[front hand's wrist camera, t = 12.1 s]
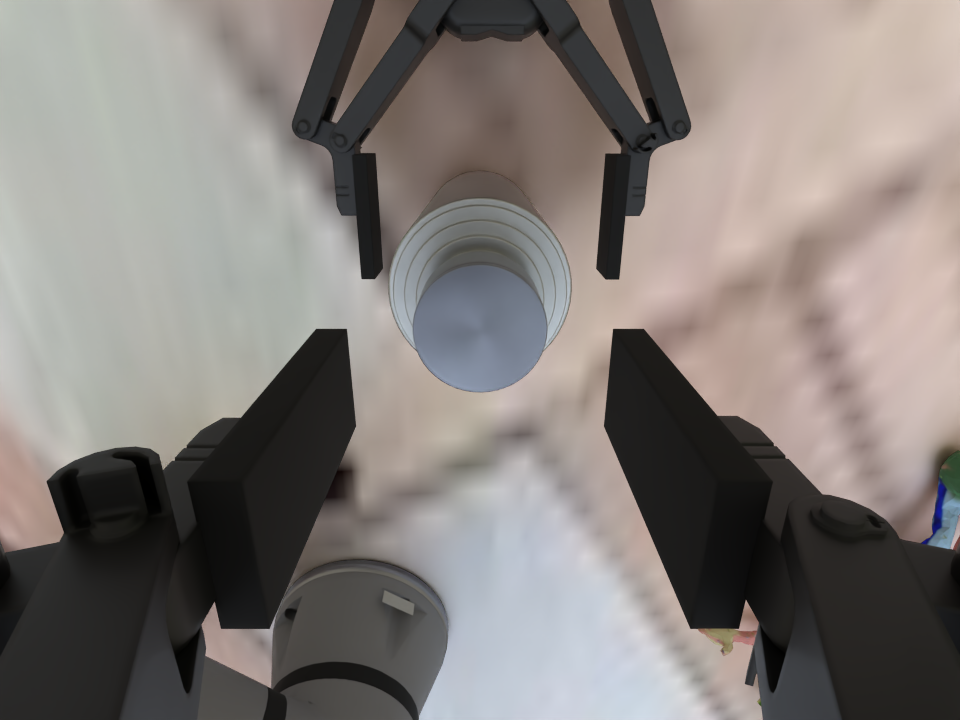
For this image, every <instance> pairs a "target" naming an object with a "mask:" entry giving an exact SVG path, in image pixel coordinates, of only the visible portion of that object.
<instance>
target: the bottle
mask: <svg viewBox="0 0 960 720" xmlns="http://www.w3.org/2000/svg"><path fill="white" fill-rule="evenodd" d="M478 251H480V252H491V253H496V254H499V255H502V256H505V257H507V258H509V259H511V260H512V261H514V262H516V263H517V264H518V265H520V266H521V267H522V268H523V269H524V270H525V271H526V272H527V273H528V274H529V276H530V277H531V279H532V280H533V282H534V284H535V286H536V288H537V290H538V293H539V296H540V298H541V301H542V304H543V306H544V310H545V313H546V318H547V328H548V331H547V339H546V344H545V347H544V350H545V349H546V348H547V347H548V346H549V345H550V344H551V343H552V341H553V340H554V339H555V337H556V336H557V334H558V333H559V331H560V329H561V327H562V326H563V324H564V321H565V319H566V316H567V314H568V310H569V306H570V301H571V292H572V282H571V273H570V267H569V263H568V260H567V257H566V254H565V252H564V250H563V248H562V246H561V244H560V242H559V241H558V239H557V237H556V236H555V234H554V233H553V232H552V230H551V229H550V228H549V226H548V225H547V224H546V222H545V221H544V220H543V218H542V217H541V216H540V214H539V213H538V212H537V210H536V209H535V208H534V207H533V205H532V204H531V203H530V201H529V200H528V199H527V197H526V196H525V195H524V193H523V192H522V191H521V190H520V189H519V187H518V186H516V185H515V184H514V183H513V182H512V181H510V180H509V179H507V178H505V177H503V176H501V175H499V174H496V173H492V172H487V171H473V172H468V173H464V174H461V175H459V176H457V177H455V178H453V179H451V180H450V181H448V182H447V183H446V184H445V185H444V186H443V187H441V188H440V190H439V191H438V192H437V193H436V195H435V196H434V197H433V199H432V200H431V201H430V203H429V204H428V205H427V207H426V208H425V209H424V211H423V212H422V213H421V215H420V216H419V217H418V219H417V220H416V221H415V223H414V224H413V225H412V227H411V228H410V229H409V231H408V232H407V233H406V235H405V236H404V237H403V239H402V241H401V242H400V244H399V246H398V247H397V250H396V252H395V255H394V257H393V260H392V264H391V268H390V273H389V281H388V291H389V300H390V306H391V310H392V313H393V316H394V319H395V321H396V323H397V326H398V328H399V329H400V331H401V333H402V334H403V336H404V337H405V339H406V340H407V341H408V342H409V344H410V345H411V346H412V347H413V348H414V349H415V350H416V347H415V343H414V339H413V317H414V313H415V310H416V306H417V304H418V301H419V298H420V296H421V293H422V290H423V288H424V286H425V284H426V282H427V280H428V279H429V277H430V276H431V275H432V273H433V272H434V271H435V270H436V269H437V268H438V267H439V266H440V265H442V264H443V263H444V262H446V261H447V260H449V259H451V258H453V257H455V256H458V255H461V254H464V253H469V252H478ZM544 350H543V351H544ZM416 351H417V350H416Z"/></svg>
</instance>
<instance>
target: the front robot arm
mask: <svg viewBox="0 0 960 720" xmlns="http://www.w3.org/2000/svg"><path fill="white" fill-rule="evenodd" d="M355 427H356V421H355V411H354V400H353V390H352V379H351V368H350V358H349V347H348V336H347V329H316V330H315V331H314V332H313V333H312V335H311V336H310V337H309V338H308V339H307V340H306V342H305V343H304V344H303V345H302V346H301V348H300V349H299V350H298V351H297V352H296V353H295V355H294V356H293V357H292V358H291V359H290V361H289V362H288V363H287V364H286V365H285V366H284V368H283V369H282V370H281V371H280V372H279V374H278V375H277V376H276V377H275V378H274V379H273V381H272V382H271V383H270V384H269V385H268V387H267V388H266V389H265V390H264V391H263V392H262V394H261V395H260V396H259V397H258V398H257V400H256V401H255V402H254V403H253V404H252V405H251V407H250V408H249V409H248V410H247V411H246V412H245V414H244V415H243V416H242V417H241V418H222V419H220V420H219V421H217V422H215V423H213V424H211V425H210V426H208V427H206V428H204V429H203V430H201V431H200V432H199V433H198V434H197V435H196V436H195V437H194V438H193V439H192V440H191V441H190V442H189V444H188V445H187V448H184V449H183V450H182V451H181V452H180V453H179V454H178V455H177V456H176V457H175V461H171V463H170V464H169V465H168V466H167V467H166V468H165V469H164V470H163V469H162V465H161V461H160V457H159V454H157V453H156V452H154V451H153V450H151V449H147V448H141V447H124V448H114V449H110V450H105V451H101V452H97V453H93V454H91V455H88V456H86V457H83V458H80V459H78V460H75V461H73V462H71V463H70V464H68V465H66V466H65V467H63V468H61V469H59V470H58V471H57V472H56V473H55V474H54V475H53V476H52V477H51V478H50V479H49V480H48V481H47V484H48V487H49V490H50V493H51V496H52V499H53V502H54V505H55V508H56V510H57V513H58V516H59V519H60V522H61V525H62V528H63V531H64V534H63V536H62V538H61V540H60V542H57V543H52V544H47V545H42V546H37V547H32V548H27V549H22V550H17V551H12V552H6V553H5V552H4V549H3V547H2V544H1V542H0V720H419V715H420V713H421V711H422V708H423V706H424V704H425V702H426V699H427V697H428V695H429V693H430V691H431V688H432V686H433V684H434V682H435V680H436V677H437V675H438V673H439V671H440V669H441V666H442V664H443V660H444V657H445V653H446V649H447V640H448V620H447V616H446V612H445V609H444V607H443V605H442V603H441V601H440V599H439V598H438V597H437V595H436V594H435V593H434V592H433V590H432V589H431V588H430V587H429V586H428V585H427V584H425V583H424V582H423V581H422V580H420V579H419V578H417V577H416V576H414V575H413V574H411V573H409V572H407V571H405V570H403V569H401V568H398V567H396V566H393V565H390V564H386V563H382V562H377V561H370V560H345V561H338V562H333V563H329V564H326V565H323V566H320V567H318V568H316V569H313V570H312V571H310V572H308V573H306V574H305V575H303V576H302V577H301V578H299V579H298V580H297V581H296V582H295V583H294V584H293V585H292V586H291V588H290V589H289V590H288V592H287V593H286V595H285V597H284V599H283V601H282V598H283V596H284V594H285V591H286V589H287V587H288V584H289V582H290V579H291V577H292V575H293V572H294V570H295V568H296V565H297V563H298V561H299V558H300V556H301V554H302V551H303V549H304V547H305V544H306V542H307V540H308V537H309V535H310V533H311V530H312V528H313V526H314V523H315V521H316V519H317V516H318V514H319V512H320V509H321V507H322V505H323V502H324V500H325V498H326V495H327V493H328V490H329V488H330V486H331V483H332V481H333V479H334V476H335V474H336V472H337V469H338V467H339V465H340V462H341V460H342V458H343V455H344V453H345V451H346V448H347V446H348V444H349V441H350V439H351V437H352V434H353V432H354V430H355ZM604 427H605V430H606V432H607V434H608V437H609V439H610V441H611V444H612V446H613V448H614V451H615V453H616V455H617V458H618V460H619V462H620V465H621V467H622V469H623V472H624V474H625V476H626V479H627V481H628V483H629V486H630V488H631V490H632V493H633V495H634V498H635V500H636V502H637V505H638V507H639V509H640V512H641V514H642V516H643V519H644V521H645V523H646V526H647V528H648V530H649V533H650V535H651V537H652V540H653V542H654V544H655V547H656V549H657V551H658V554H659V556H660V558H661V561H662V563H663V565H664V568H665V570H666V572H667V575H668V577H669V579H670V582H671V584H672V587H673V589H674V591H675V594H676V596H677V598H678V601H679V603H680V605H681V608H682V610H683V612H684V615H685V617H686V619H687V622H688V624H689V626H690V629H739V626H740V622H741V617H742V613H743V609H744V604H745V600H747V602H748V604H749V606H750V607H751V609H752V611H753V613H754V614H755V616H756V618H757V620H758V621H759V626H758V630H757V634H756V638H755V642H754V646H753V650H752V654H751V658H750V662H749V666H748V670H747V675H746V681H745V684H747V685H750V686H753V684H754V680H755V676H756V674H757V675H758V683H759V691H760V699H761V707H762V715H763V720H960V542H959V544H958V547H957V549H956V550H952V549H947V548H941V547H936V546H931V545H926V544H921V543H916V542H911V541H906V540H902V539H899V537H898V535H897V533H896V532H895V530H894V529H893V528H892V527H891V526H890V524H889V523H888V522H887V521H886V520H885V519H884V518H882V517H881V516H879V515H878V514H876V513H875V512H873V511H872V510H870V509H869V508H866V507H864V506H862V505H860V504H857V503H855V502H853V501H851V500H847V499H843V498H839V497H835V496H832V495H822V493H821V492H820V491H819V490H818V489H817V488H816V487H815V486H814V485H813V484H812V483H811V482H810V481H809V480H808V479H807V478H806V477H805V476H804V475H803V474H802V473H801V471H800V470H799V469H798V468H797V467H796V466H795V465H794V464H793V463H792V462H791V461H790V460H789V459H786V458H785V455H784V454H783V453H782V452H781V451H780V449H779V448H778V447H777V446H774V443H773V442H772V441H771V440H770V439H769V438H768V437H767V436H766V435H765V434H764V433H763V432H762V431H761V430H760V429H759V428H758V427H756V426H754V425H752V424H750V423H749V422H747V421H745V420H743V419H742V418H740V417H738V416H717V415H716V414H715V412H714V411H713V410H712V409H711V408H710V407H709V405H708V404H707V403H706V402H705V401H704V400H703V398H702V397H701V396H700V395H699V394H698V392H697V391H696V390H695V389H694V388H693V387H692V385H691V384H690V383H689V382H688V381H687V379H686V378H685V377H684V376H683V375H682V374H681V372H680V371H679V370H678V369H677V368H676V366H675V365H674V364H673V363H672V362H671V361H670V359H669V358H668V357H667V356H666V355H665V353H664V352H663V351H662V350H661V349H660V348H659V346H658V345H657V344H656V343H655V342H654V340H653V339H652V338H651V337H650V336H649V335H648V333H647V332H646V331H645V330H644V329H613V336H612V347H611V358H610V368H609V379H608V390H607V400H606V411H605V421H604ZM281 601H282V604H281V606H280V608H279V605H280V603H281ZM214 602H215V604H216V609H217V613H218V617H219V622H220V626H221V629H270V626H271V624H272V622H273V619H274V617H275V615H276V612H277V610H278V608H279V611H278V613H277V616H276V620H275V625H274V630H273V646H272V680H271V688H269V687H267V686H265V685H263V684H261V683H259V682H257V681H255V680H253V679H251V678H249V677H247V676H245V675H243V674H241V673H239V672H237V671H235V670H233V669H231V668H229V667H227V666H225V665H223V664H221V663H219V662H217V661H215V660H213V659H211V658H209V657H207V656H205V653H206V645H205V638H204V634H203V630H202V626H201V624H202V623H203V621H204V619H205V617H206V616H207V614H208V612H209V610H210V609H211V607H212V605H213V603H214Z"/></svg>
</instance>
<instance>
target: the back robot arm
mask: <svg viewBox="0 0 960 720" xmlns="http://www.w3.org/2000/svg"><path fill="white" fill-rule="evenodd" d="M374 2H375V0H334V2H333V5H332V8H331V11H330V14H329V17H328V20H327V23H326V25H325V28H324V31H323V34H322V37H321V40H320V43H319V46H318V49H317V52H316V54H315V57H314V60H313V63H312V66H311V69H310V72H309V75H308V78H307V81H306V83H305V86H304V89H303V92H302V95H301V98H300V101H299V104H298V107H297V110H296V112H295V115H294V118H293V121H292V129H293V132H294V133H295V135H296V136H298V137H299V138H301V139H306V140H309V141H311V142H314V143H317V144H319V145H322V146H324V147H325V148H327V149H328V150H329V152H330V153H331V156H332V159H333V168H334V179H335V190H336V201H337V207H338V209H339V211H340V213H341V215H357V227H358V240H359V252H360V265H361V278H362V279H375V278H376V277H377V276H378V274H379V273H380V272H381V270H382V269H383V262H382V247H381V231H380V215H379V200H378V184H377V169H376V153H360V149H361V148H362V147H361V145H362V143H363V142H364V141H365V139H366V138H367V136H368V135H369V134H370V132H371V131H372V129H373V128H374V127H375V125H376V124H377V123H378V121H379V120H380V118H381V117H382V116H383V114H384V113H385V111H386V110H387V109H388V107H389V106H390V104H391V103H392V102H393V100H394V99H395V97H396V96H397V95H398V93H399V92H400V91H401V89H402V88H403V86H404V85H405V84H406V82H407V81H408V79H409V78H410V77H411V75H412V74H413V72H414V71H415V70H416V68H417V67H418V65H419V64H420V63H421V61H422V60H423V59H424V57H425V56H426V54H427V53H428V52H429V51H430V50H431V49H432V48H433V47H434V46H435V44H436V43H437V41H438V40H439V39H440V37H441V36H442V35H443V33H444V32H445V30H447V31H448V32H449V33H451V34H452V35H453V36H455V37H457V38H460V39H461V40H462V41H478V40H482V39H485V38H488V37H495V38H498V39H501V40H505V41H522V39H524V38H527V37H529V36H530V35H532V34H533V33H534V32H536V31H538V32H539V34H540V35H541V36H542V38H543V39H544V41H545V42H546V44H547V45H548V46H549V47H550V49H551V50H553V51H554V52H555V54H556V55H557V56H558V58H559V59H560V61H561V62H562V63H563V65H564V66H565V68H566V69H567V71H568V72H569V73H570V75H571V76H572V78H573V79H574V81H575V82H576V83H577V85H578V86H579V88H580V89H581V91H582V92H583V93H584V95H585V96H586V98H587V99H588V101H589V102H590V103H591V105H592V106H593V108H594V109H595V111H596V112H597V113H598V115H599V116H600V118H601V119H602V121H603V122H604V123H605V125H606V126H607V128H608V129H609V131H610V132H611V133H612V135H613V136H614V138H615V139H616V141H617V142H618V143H619V145H620V146H621V154H605V167H604V179H603V192H602V204H601V217H600V229H599V241H598V254H597V266H596V269H597V270H598V271H599V272H600V273H601V275H602V276H603V277H604V278H605V279H619V276H620V265H621V255H622V245H623V234H624V224H625V216H640V214H641V212H642V210H643V208H644V205H645V195H646V186H647V178H648V168H649V160H650V156H651V154H652V153H653V151H654V150H655V149H656V148H658V147H660V146H662V145H665V144H667V143H670V142H673V141H675V140H681V139H683V138H685V137H686V136H687V135H688V134H689V132H690V129H691V122H690V119H689V115H688V112H687V109H686V106H685V103H684V100H683V97H682V94H681V91H680V88H679V85H678V82H677V79H676V76H675V73H674V70H673V67H672V64H671V60H670V57H669V54H668V51H667V48H666V45H665V42H664V39H663V36H662V33H661V30H660V27H659V24H658V21H657V18H656V15H655V12H654V8H653V5H652V2H651V0H609V5H610V8H611V11H612V15H613V17H614V20H615V23H616V26H617V29H618V32H619V34H620V37H621V40H622V43H623V46H624V49H625V51H626V54H627V57H628V60H629V63H630V66H631V69H632V71H633V74H634V77H635V80H636V83H637V86H638V88H639V91H640V94H641V97H642V100H643V103H644V105H645V108H646V111H647V114H648V117H649V120H650V122H649V123H647V124H646V123H645V121H644V120H643V118H642V117H641V115H640V114H639V112H638V111H637V109H636V108H635V106H634V105H633V103H632V102H631V100H630V99H629V97H628V96H627V95H626V93H625V92H624V90H623V89H622V87H621V86H620V84H619V83H618V81H617V80H616V78H615V77H614V75H613V74H612V72H611V71H610V69H609V68H608V66H607V65H606V63H605V62H604V60H603V59H602V57H601V56H600V54H599V53H598V52H597V50H596V49H595V47H594V46H593V44H592V43H591V41H590V40H589V38H588V37H587V35H586V34H585V32H584V31H583V29H582V28H581V26H580V22H579V20H578V18H577V16H576V14H575V13H574V11H573V10H572V8H571V7H570V5H569V4H568V2H567V1H566V0H420V1H419V2H418V3H417V5H416V6H415V8H414V9H413V11H412V12H411V14H410V15H409V17H408V18H407V20H406V23H405V25H404V27H403V29H402V30H401V32H400V33H399V35H398V36H397V38H396V39H395V40H394V42H393V43H392V45H391V46H390V48H389V49H388V51H387V52H386V53H385V55H384V56H383V58H382V59H381V61H380V62H379V64H378V65H377V66H376V68H375V69H374V71H373V72H372V74H371V75H370V76H369V78H368V79H367V81H366V82H365V84H364V85H363V87H362V88H361V89H360V91H359V92H358V94H357V95H356V97H355V98H354V100H353V101H352V102H351V104H350V105H349V107H348V108H347V110H346V111H345V112H344V114H343V115H342V117H341V118H340V120H339V121H338V123H334V122H332V121H331V120H332V118H333V115H334V112H335V110H336V107H337V104H338V101H339V99H340V96H341V93H342V91H343V88H344V85H345V82H346V80H347V77H348V74H349V72H350V69H351V66H352V63H353V61H354V58H355V55H356V53H357V50H358V47H359V45H360V42H361V39H362V36H363V34H364V31H365V28H366V26H367V23H368V20H369V17H370V15H371V12H372V9H373V5H374Z"/></svg>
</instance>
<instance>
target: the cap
mask: <svg viewBox="0 0 960 720" xmlns="http://www.w3.org/2000/svg"><path fill="white" fill-rule="evenodd" d="M547 331H548V328H547V318H546V313H545V310H544V306H543V304H542V301H541V298H540V296H539V293H538V290H537V288H536V286H535V284H534V282H533V280H532V279H531V277H530V276H529V274H528V273H527V272H526V271H525V270H524V269H523V268H522V267H521V266H520V265H518V264H517V263H516V262H514V261H512V260H511V259H509V258H507V257H505V256H502V255H499V254H496V253H491V252H480V251H478V252H469V253H464V254H461V255H458V256H455V257H453V258H451V259H449V260H447V261H446V262H444V263H443V264H442V265H440V266H439V267H438V268H437V269H436V270H435V271H434V272H433V273H432V275H431V276H430V277H429V279H428V280H427V282H426V284H425V286H424V288H423V290H422V293H421V296H420V298H419V301H418V304H417V306H416V310H415V313H414V317H413V339H414V343H415V347H416V350H417V352H418V354H419V357H420V358H421V360H422V362H423V363H424V365H425V366H426V367H427V368H428V370H429V371H430V372H431V373H432V374H433V375H434V376H436V377H437V378H438V379H440V380H441V381H443V382H444V383H446V384H448V385H450V386H452V387H455V388H457V389H461V390H464V391H470V392H490V391H495V390H499V389H503V388H506V387H508V386H510V385H512V384H514V383H516V382H517V381H519V380H520V379H522V378H523V377H524V376H525V375H527V374H528V373H529V372H530V371H531V370H532V368H533V367H534V366H535V365H536V363H537V362H538V360H539V358H540V357H541V355H542V352H543V350H544V347H545V344H546V339H547Z"/></svg>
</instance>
